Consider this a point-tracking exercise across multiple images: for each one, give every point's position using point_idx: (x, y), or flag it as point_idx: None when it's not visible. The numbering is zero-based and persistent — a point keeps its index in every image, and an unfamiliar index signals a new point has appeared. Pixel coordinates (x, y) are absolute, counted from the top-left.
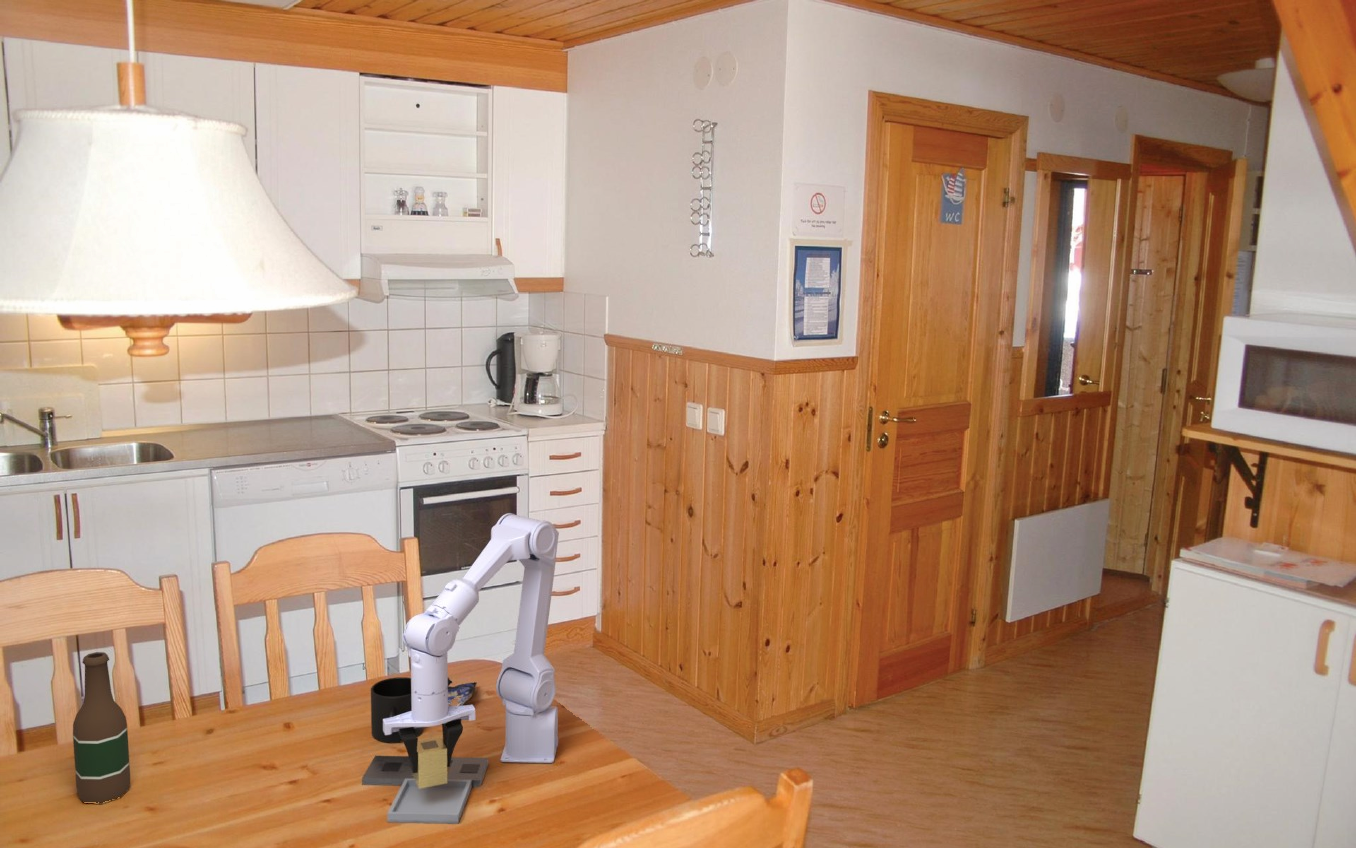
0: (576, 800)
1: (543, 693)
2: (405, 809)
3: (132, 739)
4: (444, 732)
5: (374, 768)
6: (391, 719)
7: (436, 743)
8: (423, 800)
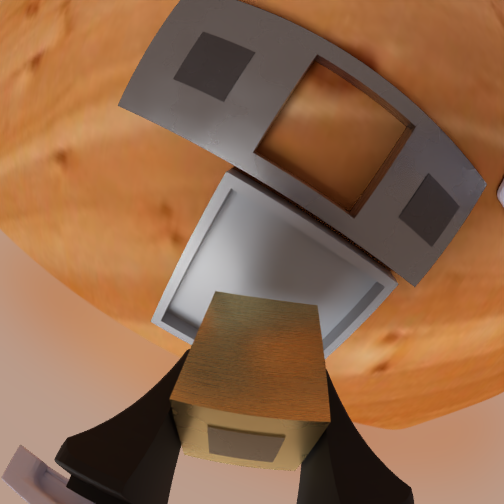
0: (468, 375)
1: None
2: (199, 297)
3: None
4: (317, 489)
5: (161, 56)
6: (30, 496)
7: (275, 452)
8: (252, 282)
